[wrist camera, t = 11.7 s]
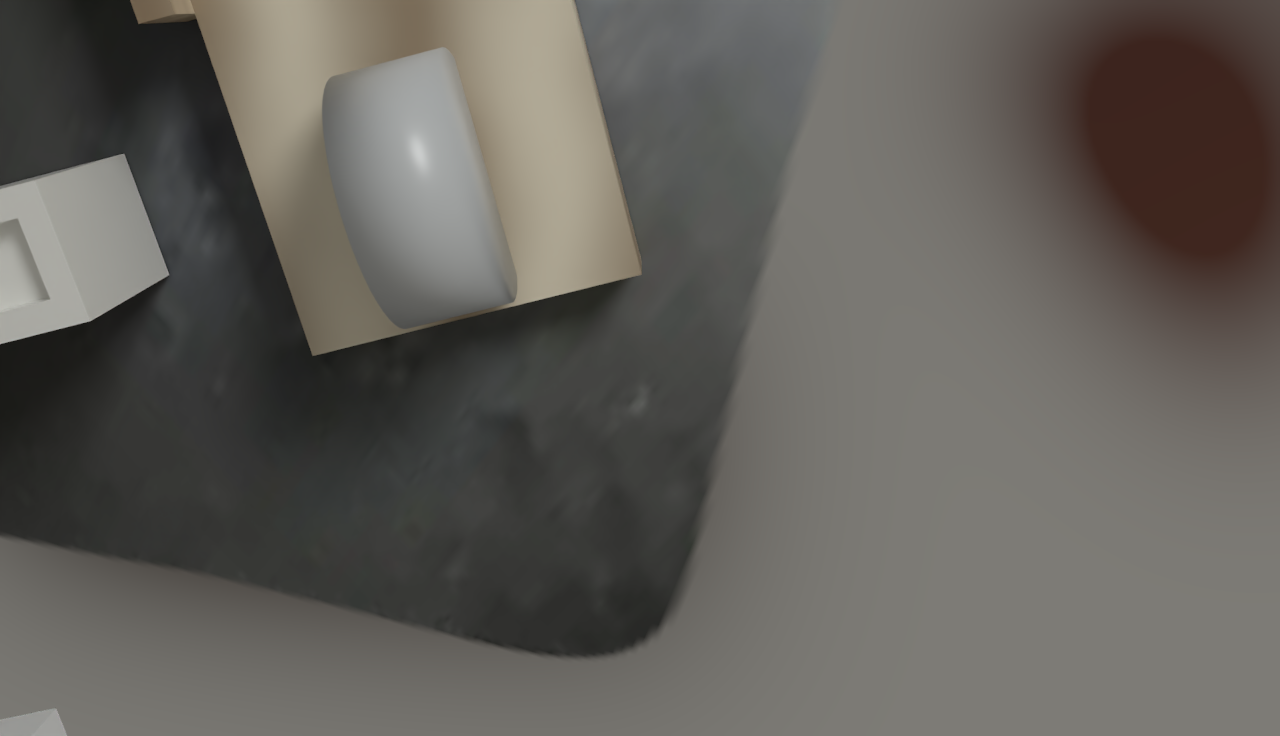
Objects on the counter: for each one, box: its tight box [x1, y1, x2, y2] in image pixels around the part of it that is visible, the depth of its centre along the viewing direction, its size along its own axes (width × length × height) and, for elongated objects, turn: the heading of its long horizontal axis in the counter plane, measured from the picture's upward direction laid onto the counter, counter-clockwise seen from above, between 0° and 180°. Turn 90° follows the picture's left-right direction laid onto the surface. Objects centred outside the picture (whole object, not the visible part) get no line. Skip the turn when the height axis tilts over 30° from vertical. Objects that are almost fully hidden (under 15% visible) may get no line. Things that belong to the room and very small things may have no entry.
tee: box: [0, 154, 169, 344], centre depth 34 cm, size 4×4×6 cm
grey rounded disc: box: [322, 47, 517, 329], centre depth 33 cm, size 3×7×7 cm, turn 14°
